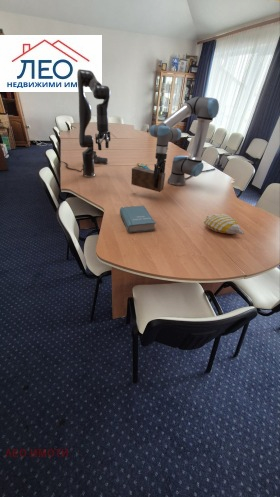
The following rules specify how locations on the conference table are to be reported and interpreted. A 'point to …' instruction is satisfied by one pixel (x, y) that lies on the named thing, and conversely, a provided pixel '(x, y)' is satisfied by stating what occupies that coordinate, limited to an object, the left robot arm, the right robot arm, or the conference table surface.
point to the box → (147, 179)
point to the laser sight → (99, 159)
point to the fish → (223, 224)
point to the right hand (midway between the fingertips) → (157, 186)
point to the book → (137, 219)
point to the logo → (143, 165)
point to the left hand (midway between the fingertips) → (103, 149)
